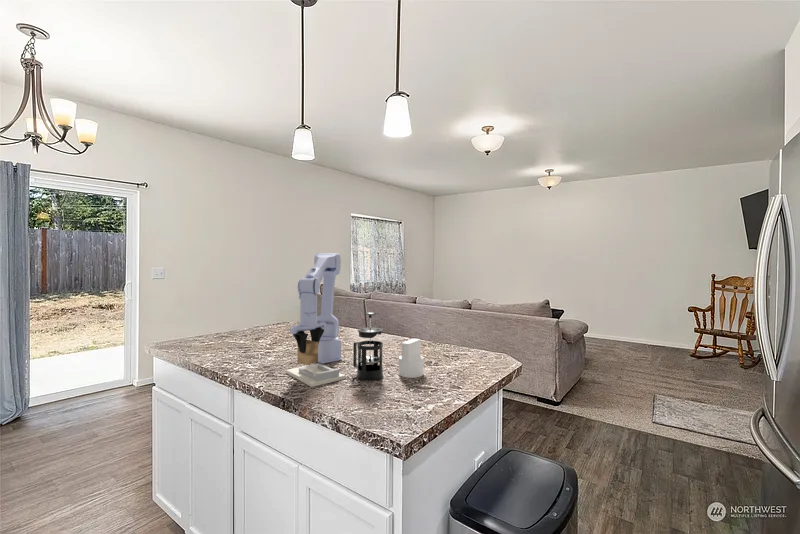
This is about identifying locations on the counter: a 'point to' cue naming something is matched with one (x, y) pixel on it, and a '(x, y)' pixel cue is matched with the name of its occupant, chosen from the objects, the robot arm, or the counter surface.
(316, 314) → the robot arm
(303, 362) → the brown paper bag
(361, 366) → the french press
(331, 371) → the shallow rectangular tray
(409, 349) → the cylinder with rectangular tab
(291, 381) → the counter surface
